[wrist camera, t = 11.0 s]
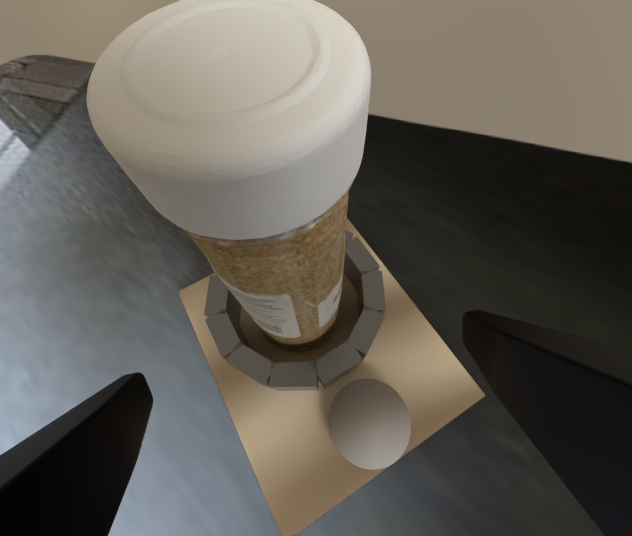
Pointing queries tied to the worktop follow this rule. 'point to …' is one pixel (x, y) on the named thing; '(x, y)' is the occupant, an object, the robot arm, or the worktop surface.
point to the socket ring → (302, 375)
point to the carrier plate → (338, 403)
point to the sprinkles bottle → (245, 144)
